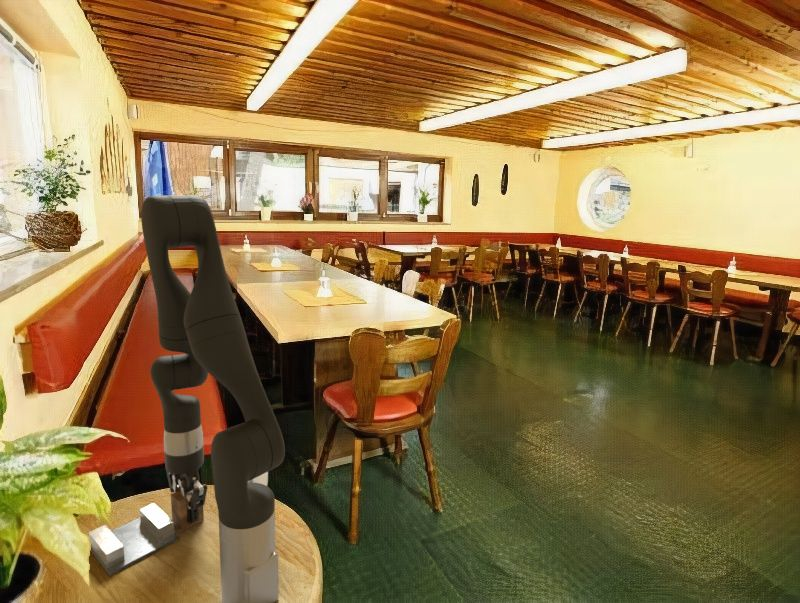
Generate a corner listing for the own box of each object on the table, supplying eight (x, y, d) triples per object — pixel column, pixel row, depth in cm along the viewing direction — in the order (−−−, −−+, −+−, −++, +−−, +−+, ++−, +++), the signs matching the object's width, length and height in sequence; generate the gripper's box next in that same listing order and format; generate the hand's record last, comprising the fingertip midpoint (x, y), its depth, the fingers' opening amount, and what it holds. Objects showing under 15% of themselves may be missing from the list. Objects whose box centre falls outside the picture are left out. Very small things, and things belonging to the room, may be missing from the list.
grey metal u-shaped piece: (178, 539, 97) (178, 524, 96) (109, 576, 87) (108, 559, 86) (152, 513, 104) (151, 499, 103) (86, 544, 94) (84, 529, 93)
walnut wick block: (203, 519, 103) (202, 491, 101) (181, 531, 99) (179, 502, 97) (194, 512, 105) (193, 484, 104) (172, 523, 101) (170, 494, 100)
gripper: (218, 450, 97) (221, 522, 100) (184, 428, 105) (188, 495, 109) (183, 465, 91) (187, 541, 95) (150, 439, 100) (155, 510, 103)
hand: (187, 516), depth 102 cm, fingers closed on walnut wick block, 4 cm apart
